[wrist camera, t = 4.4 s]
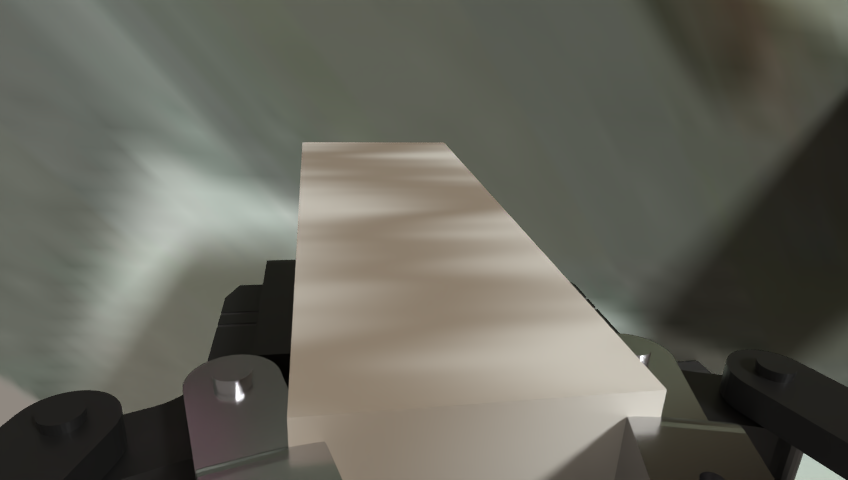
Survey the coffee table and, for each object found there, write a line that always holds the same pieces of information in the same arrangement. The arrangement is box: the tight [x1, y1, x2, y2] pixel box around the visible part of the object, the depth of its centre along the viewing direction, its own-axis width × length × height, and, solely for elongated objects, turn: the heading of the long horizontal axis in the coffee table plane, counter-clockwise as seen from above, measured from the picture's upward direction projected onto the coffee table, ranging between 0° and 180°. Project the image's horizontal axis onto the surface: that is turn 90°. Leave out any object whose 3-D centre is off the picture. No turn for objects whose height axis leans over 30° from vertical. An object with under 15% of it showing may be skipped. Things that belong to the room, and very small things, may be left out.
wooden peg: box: [287, 142, 667, 480], centre depth 12 cm, size 4×4×12 cm
